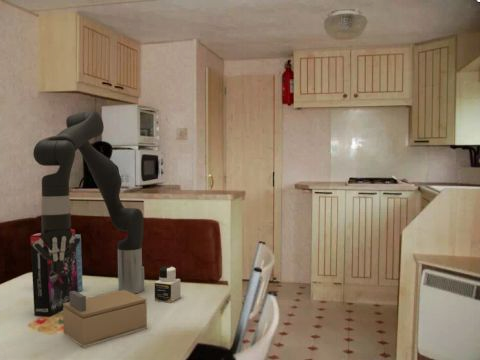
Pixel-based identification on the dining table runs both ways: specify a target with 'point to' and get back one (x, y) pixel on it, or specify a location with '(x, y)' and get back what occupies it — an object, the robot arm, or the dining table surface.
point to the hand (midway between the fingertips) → (57, 273)
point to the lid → (101, 302)
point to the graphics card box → (52, 280)
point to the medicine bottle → (167, 285)
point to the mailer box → (104, 324)
